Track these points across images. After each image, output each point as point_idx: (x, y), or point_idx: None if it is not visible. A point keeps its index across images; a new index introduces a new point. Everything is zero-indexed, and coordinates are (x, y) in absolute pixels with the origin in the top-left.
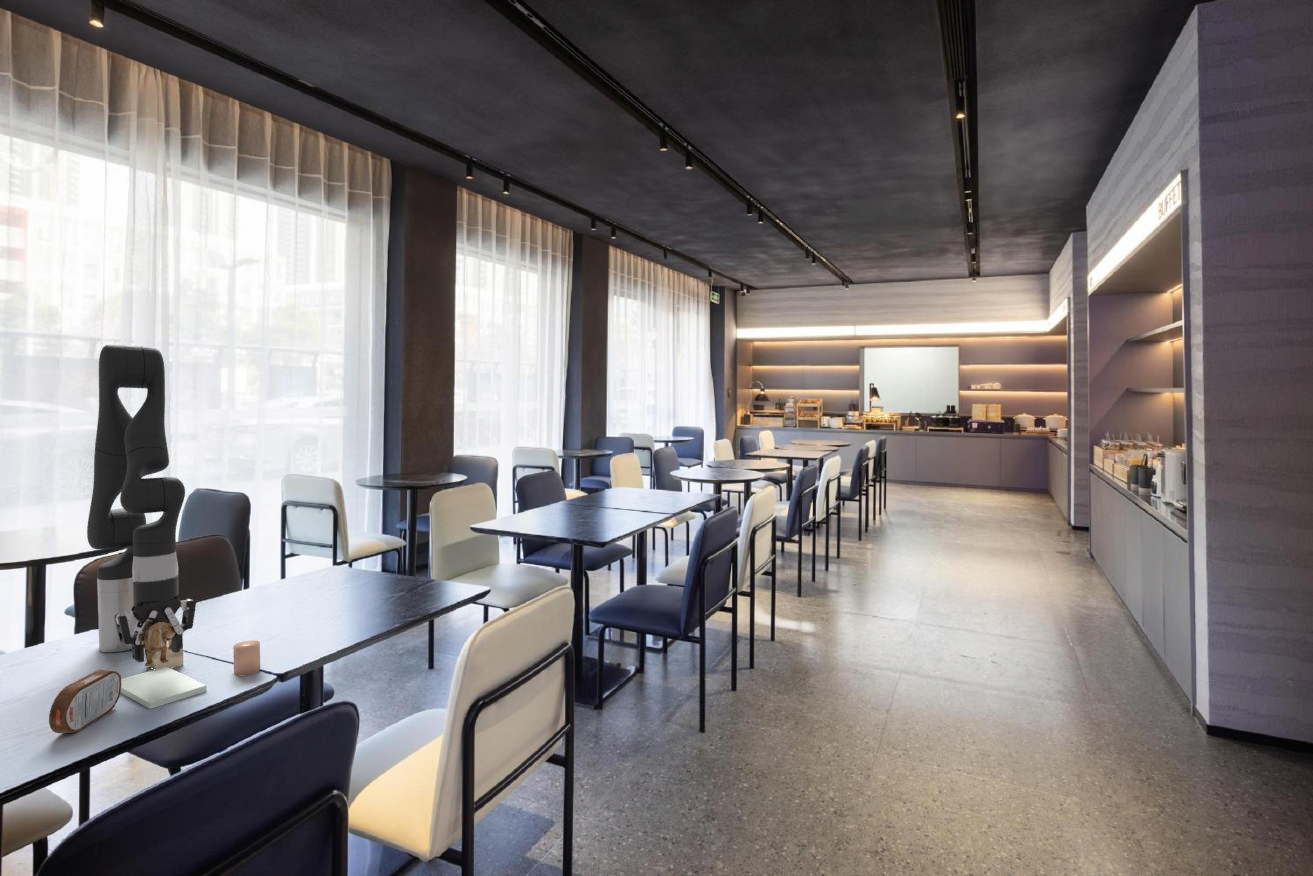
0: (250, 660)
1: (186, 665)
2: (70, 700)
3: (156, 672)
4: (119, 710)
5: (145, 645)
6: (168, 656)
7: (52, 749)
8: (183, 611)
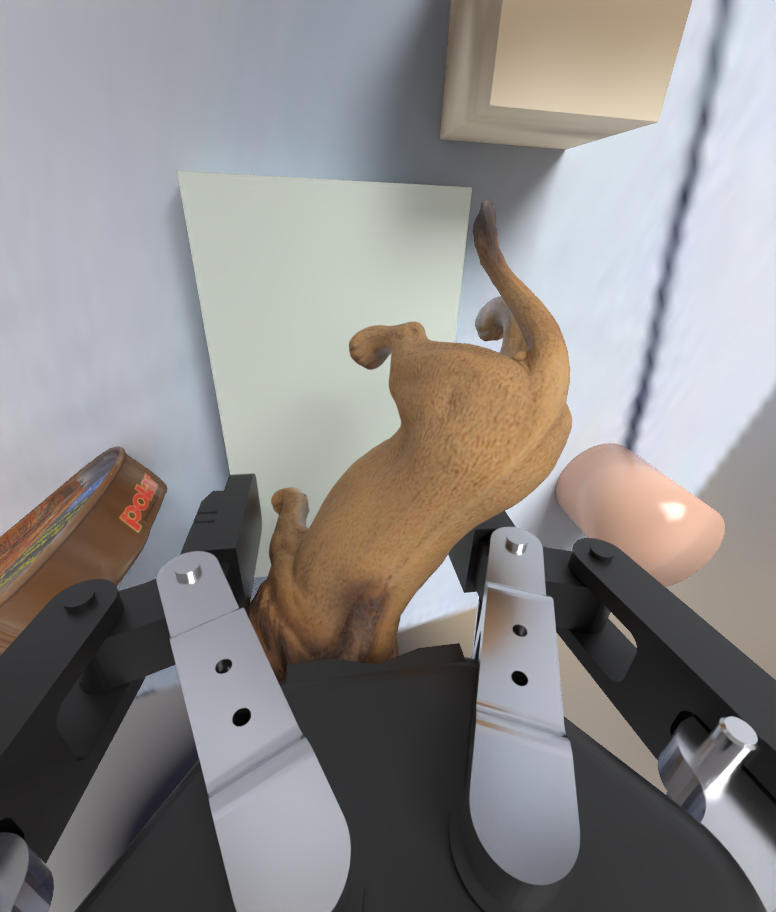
0: None
1: (565, 178)
2: None
3: (396, 251)
4: (169, 503)
5: None
6: (529, 126)
7: None
8: (687, 673)
